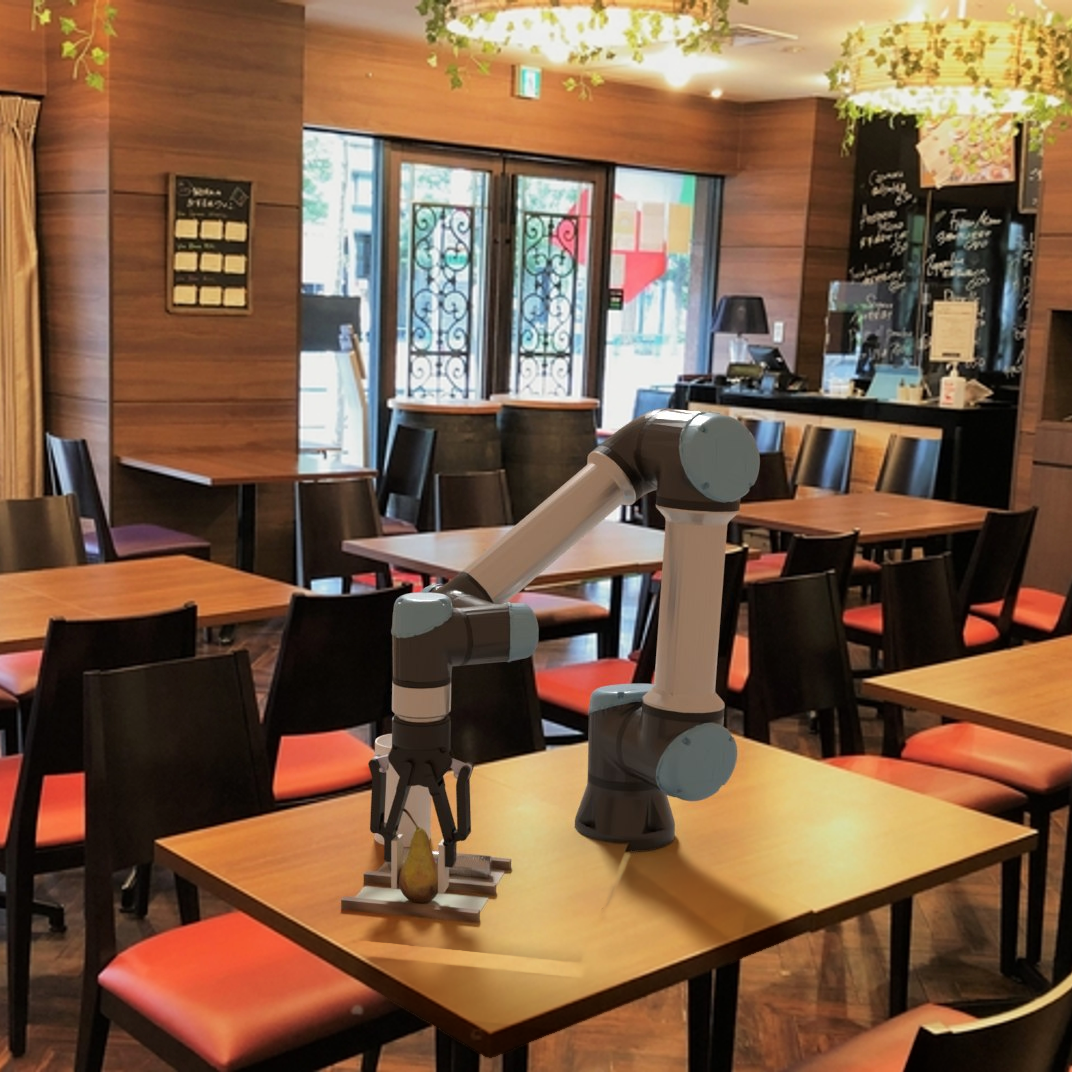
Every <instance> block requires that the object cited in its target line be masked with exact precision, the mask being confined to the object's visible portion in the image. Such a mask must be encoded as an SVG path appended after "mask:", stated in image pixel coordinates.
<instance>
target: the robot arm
mask: <svg viewBox="0 0 1072 1072" xmlns="http://www.w3.org/2000/svg"><path fill="white" fill-rule="evenodd" d="M759 451H760V450H759V447H758V444H757V441H756V438H755V437H754V435H753V434H752V432H751V431H750V429H749V428H748V427H747V426H746V425H745V424H744V423H743V422H742V421H740V420H739V419H736V418H735V417H732V416H729V415H725V414H721V413H720V412H715V411H711V410H709V411H700V410H688V409H687V410H685V409H679V408H675V407H674V408H672V407H664V408H658V409H654V410H650V411H648V412H646V413H644V414H641V415H639V416H637V417H636V418H635V419H632V420H631V421H629V422H628V423H626V424H625V425H623V426H622V427H620V428H619V429H618V430H617V431H616V432H613V434H611V435H610V436H609V437H607V439H605V440H603V441H602V442H601V443H600V444H599V445H598V446H597V447H595V448H594V449H593V450H592V451H591V452H590V453H588V454H587V455H588V456H587V460H586V461H587V464H586V465H585V466H584V467H583V468H582V469H580V470H579V471H578V472H577V473H576V474H575V475H573V476H572V477H571V478H570V479H569V480H567V481H566V482H565V483H564V484H563V485H561V486H560V487H559V488H558V489H557V490H556V491H554V492H552V494H550V495H549V496H548V497H547V498H546V499H545V500H543V502H541V503H540V504H539V505H538V506H536V507H535V509H533V510H532V511H531V512H529V514H527V515H526V516H525V517H524V518H522V519H521V520H519V522H518V523H516V524H515V525H514V526H513V527H512V528H511V529H509V530H508V531H507V532H506V533H505V534H504V535H503V536H501V537H500V538H499V539H498V540H496V541H495V542H494V543H493V544H492V545H491V546H489V547H488V548H487V549H485V550H484V552H482V553H481V554H480V555H479V556H477V557H476V558H475V559H474V560H473V561H472V562H471V563H470V564H468V565H467V566H466V567H465V568H464V569H462V570H461V571H460V572H459V573H458V574H456V575H455V576H454V577H453V578H452V579H450V580H449V581H448V582H446V583H436V584H430V585H428V586H426V587H424V588H422V589H421V590H420V591H419V592H410V593H404V594H402V595H400V596H399V597H397V598H396V600H395V602H394V604H393V612H392V625H391V630H390V633H391V635H392V636H391V637H392V638H391V641H392V649H391V650H392V683H391V684H392V688H391V692H392V694H391V711H392V712H393V713H394V716H392V718H391V734H392V748H391V751H390V752H389V754H388V755H384V756H381V755H375V754H374V756H373V757H372V758H371V759H370V760H369V761H368V764H367V765H368V769H369V771H370V776H371V797H370V801H371V802H370V816H369V817H370V819H369V830H370V833H372V834H374V833H378V834H380V835H382V836H383V838H384V845H383V851H384V852H383V855H384V856H383V859H384V862H385V861H386V862H391V886H390V888H391V889H397V888H398V889H399V888H400V887H399V882H398V879H399V874H400V870H401V868H402V866H403V848H404V847H403V834H397V835H396V832H397V831H398V830H399V829H398V827H399V823H400V820H401V817H402V814H403V809H404V807H405V804H406V800H407V797H408V794H409V790H410V788H411V786H416V785H420V786H423V787H428V789H429V793H430V795H431V800H432V802H433V805H434V809H435V813H436V817H437V821H438V824H439V828H440V832H441V834H442V835H441V836H442V839H441V841H440V842H439V843H438V845H437V851H438V893H440V894H444V893H446V892H447V891H446V889H447V888H448V886H449V867H451V868H452V867H453V866H454V864H455V862H456V853H457V843H458V842H465V840H467V838H468V837H469V836H470V834H471V833H472V819H471V818H472V817H471V815H472V814H471V813H472V811H471V788H470V787H471V784H470V779H471V777H472V773H473V770H474V763H473V762H471V761H467V762H463V761H461V760H459V759H455V757H454V753H453V752H452V749H451V738H452V737H451V734H452V733H451V728H452V727H451V724H452V723H451V721H452V720H451V716H450V715H449V713H450V712H451V709H452V708H451V707H452V706H451V705H452V672H453V671H452V670H453V667H462V666H469V665H480V664H492V663H503V662H506V663H512V661H513V662H514V661H518V660H522V659H527V658H530V657H531V656H533V654H534V653H535V651H536V649H537V647H538V644H539V630H540V628H539V623H538V619H537V617H536V613H535V611H534V610H533V609H532V608H531V606H529V605H528V604H526V603H524V602H510V600H511V599H513V598H514V597H515V596H516V595H517V594H519V592H521V591H522V590H523V589H524V588H525V587H527V586H528V585H529V584H530V583H532V582H533V580H534V579H536V578H537V577H538V576H539V575H541V573H543V572H544V571H545V570H546V569H548V568H549V567H550V566H551V565H553V564H554V563H555V562H556V561H557V560H559V558H560V557H561V556H563V555H565V553H566V552H567V551H569V550H570V549H571V548H572V547H573V546H574V545H575V544H577V543H578V542H579V541H580V540H582V538H584V537H585V536H586V535H588V533H590V532H591V531H592V530H593V529H594V528H595V527H596V526H597V525H599V524H600V523H602V522H603V521H604V520H605V519H606V518H607V517H609V515H611V514H612V513H614V511H615V510H617V508H619V507H620V506H622V505H623V506H632V505H633V504H635V503H636V502H637V501H638V500H639V499H640V498H642V497H643V496H644V495H646V494H648V493H651V492H653V491H656V498H655V508H656V509H657V510H658V512H660V514H661V515H662V516H663V517H664V519H665V525H664V527H665V528H664V539H663V541H664V543H663V554H662V569H661V583H660V585H661V586H660V596H659V597H660V598H659V610H658V625H657V626H658V627H657V637H656V638H657V640H656V654H655V655H656V656H655V668H654V682H653V683H620V684H610V685H604V686H600V687H597V688H596V689H595V690H593V691H592V693H591V694H590V698H589V705H588V712H587V715H588V737H587V738H588V744H587V745H588V746H587V747H588V748H587V781H586V787H585V789H584V792H583V796H582V798H581V801H580V804H579V806H578V809H577V812H576V815H575V818H574V829H575V830H576V831H577V832H578V833H579V834H581V835H583V836H585V837H587V838H590V839H592V840H595V841H600V842H605V843H611V844H619V845H626V847H625V849H624V852H645V851H651V850H652V851H653V850H656V849H660V848H664V847H665V846H668V845H670V844H671V843H672V842H673V841H674V840H675V837H676V836H675V835H676V823H675V819H674V818H675V817H674V815H673V812H672V808H671V804H670V800H669V798H668V796H669V797H671V798H677V799H680V800H682V801H686V802H700V801H703V800H705V799H708V798H710V797H712V796H714V795H715V794H717V793H718V792H719V791H720V789H721V788H722V786H725V785H726V784H727V783H728V782H729V780H730V778H731V777H732V775H733V772H734V770H735V767H736V765H737V760H738V745H737V742H736V739H735V737H733V735H732V732H730V731H729V728H726V727H725V726H724V722H725V721H724V719H725V706H726V705H725V702H724V701H723V699H722V698H721V697H720V696H719V695H718V694H717V692H716V682H717V681H716V680H717V671H718V670H717V667H718V656H719V655H718V653H719V642H720V641H719V640H720V627H721V626H720V625H721V614H722V601H723V600H722V599H723V589H724V588H723V587H724V575H725V561H726V547H727V533H728V532H727V531H728V524H729V523H730V521H731V520H732V519H734V518H735V517H736V516H737V515H738V514H739V513H740V507H741V498H743V497H744V496H746V495H747V494H748V493H749V492H750V488H751V487H752V486H754V485H755V483H756V481H757V479H758V476H759V471H760V464H761V459H760V457H761V456H760V452H759ZM389 763H390V764H391V765H392V767H393V768H394V769H395V771H396V772H397V774H398V775H399V777H400V778H399V781H398V784H397V788H396V794H395V797H394V800H393V803H392V807H391V810H390V813H389V817H388V820H387V823H385V822H384V819H385V798H386V771H387V770H388V769H389ZM450 769H451V770H452V771H453V778H455V779H456V785H455V795H456V796H455V797H456V799H455V800H456V823H455V820H454V816H453V811H452V808H451V805H450V802H449V798H448V793H447V790H446V783H445V778H444V776H445V774H446V773H447V772H448V771H449V770H450Z"/></svg>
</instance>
